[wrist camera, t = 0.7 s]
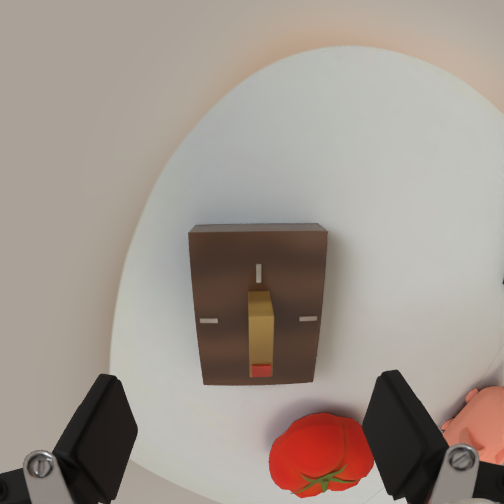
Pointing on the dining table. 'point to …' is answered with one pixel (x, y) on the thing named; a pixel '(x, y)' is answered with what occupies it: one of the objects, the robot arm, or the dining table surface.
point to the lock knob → (260, 333)
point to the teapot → (480, 424)
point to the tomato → (320, 455)
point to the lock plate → (257, 279)
